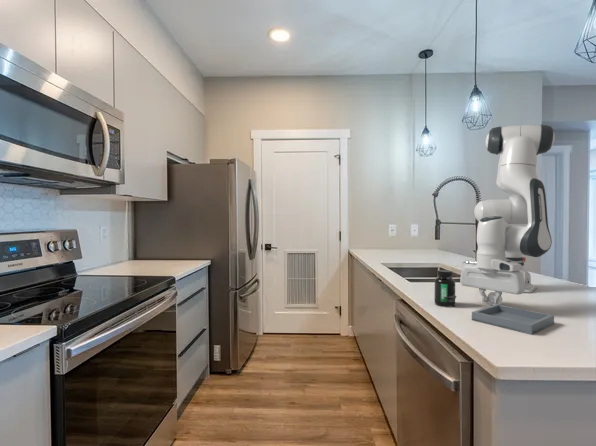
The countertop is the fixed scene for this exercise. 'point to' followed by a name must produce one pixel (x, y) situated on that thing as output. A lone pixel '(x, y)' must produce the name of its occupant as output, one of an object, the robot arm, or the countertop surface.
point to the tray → (513, 318)
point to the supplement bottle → (444, 288)
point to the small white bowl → (492, 295)
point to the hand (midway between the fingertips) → (490, 302)
